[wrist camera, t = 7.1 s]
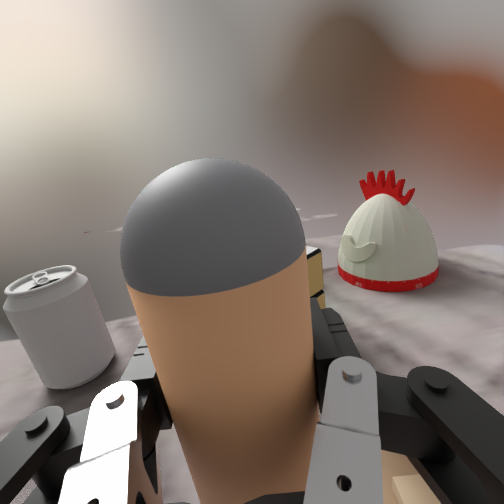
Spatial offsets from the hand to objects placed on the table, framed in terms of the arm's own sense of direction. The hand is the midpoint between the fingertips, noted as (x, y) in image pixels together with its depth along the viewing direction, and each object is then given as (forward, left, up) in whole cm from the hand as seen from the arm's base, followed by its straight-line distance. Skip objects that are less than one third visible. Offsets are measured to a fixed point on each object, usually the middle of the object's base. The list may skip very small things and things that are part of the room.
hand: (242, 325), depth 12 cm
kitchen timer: (-13, +33, -15) cm, 39 cm away
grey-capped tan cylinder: (+2, -2, -8) cm, 8 cm away
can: (-26, -8, -14) cm, 30 cm away
